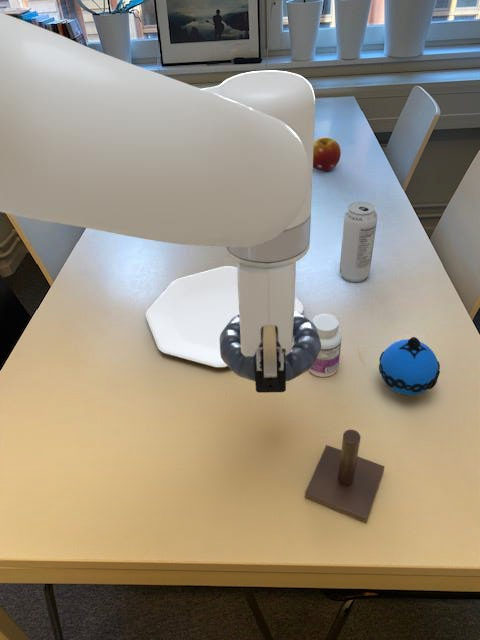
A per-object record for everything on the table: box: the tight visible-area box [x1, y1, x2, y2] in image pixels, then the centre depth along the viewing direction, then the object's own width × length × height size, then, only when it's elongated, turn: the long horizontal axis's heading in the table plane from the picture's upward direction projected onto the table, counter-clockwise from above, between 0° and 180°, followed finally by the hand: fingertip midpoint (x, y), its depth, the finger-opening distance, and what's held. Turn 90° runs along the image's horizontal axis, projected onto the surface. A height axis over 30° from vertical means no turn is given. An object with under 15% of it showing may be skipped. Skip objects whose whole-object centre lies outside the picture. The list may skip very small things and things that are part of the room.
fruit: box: [313, 136, 342, 172], centre depth 138 cm, size 10×9×8 cm
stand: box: [304, 429, 385, 524], centre depth 60 cm, size 8×8×10 cm
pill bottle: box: [308, 313, 343, 378], centre depth 77 cm, size 5×5×10 cm
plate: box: [144, 265, 304, 369], centre depth 91 cm, size 28×28×2 cm
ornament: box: [378, 336, 441, 396], centre depth 73 cm, size 9×9×10 cm
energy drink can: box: [339, 201, 378, 283], centre depth 94 cm, size 6×6×15 cm
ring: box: [219, 311, 321, 383], centre depth 57 cm, size 12×12×3 cm
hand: (270, 374), depth 54 cm, fingers closed on ring, 3 cm apart
